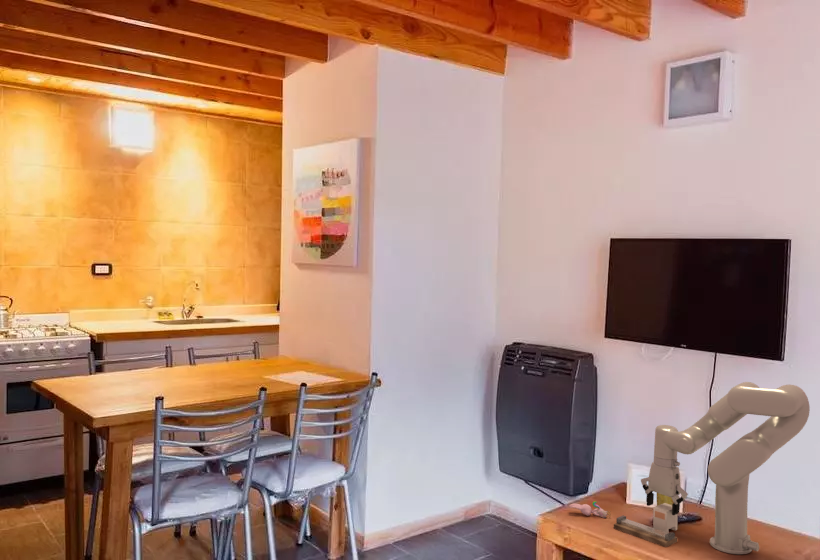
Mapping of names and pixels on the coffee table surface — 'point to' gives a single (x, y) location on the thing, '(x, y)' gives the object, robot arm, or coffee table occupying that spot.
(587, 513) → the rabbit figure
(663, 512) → the module
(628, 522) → the rail
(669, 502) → the sauce bottle
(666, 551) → the coffee table surface
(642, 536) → the board
